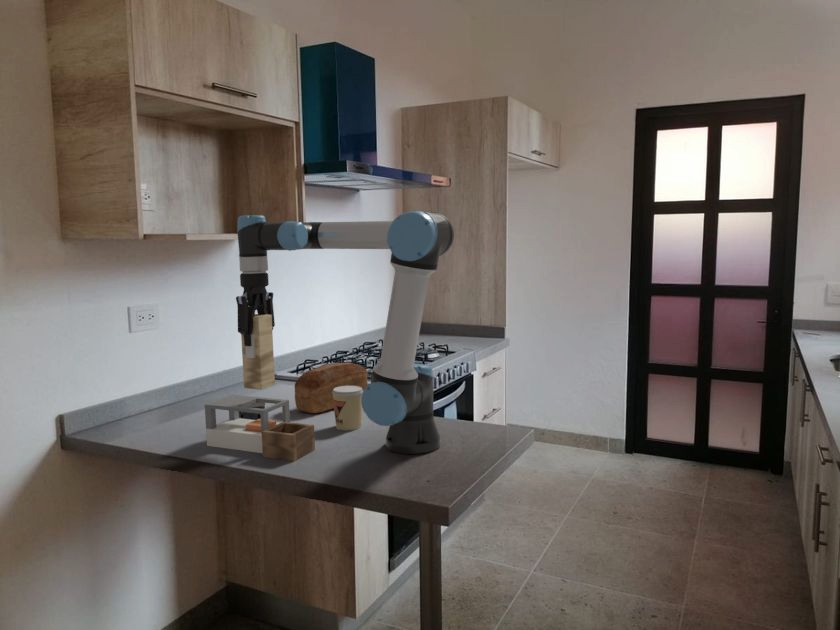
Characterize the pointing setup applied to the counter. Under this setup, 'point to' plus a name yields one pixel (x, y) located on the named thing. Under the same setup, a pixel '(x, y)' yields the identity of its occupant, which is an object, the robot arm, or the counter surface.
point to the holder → (288, 441)
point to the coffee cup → (348, 407)
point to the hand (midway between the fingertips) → (258, 355)
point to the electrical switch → (252, 415)
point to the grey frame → (240, 422)
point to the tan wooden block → (260, 355)
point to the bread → (326, 385)
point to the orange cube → (258, 425)
